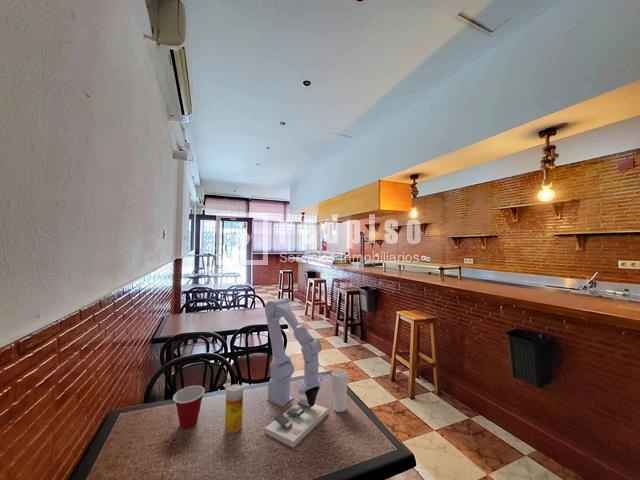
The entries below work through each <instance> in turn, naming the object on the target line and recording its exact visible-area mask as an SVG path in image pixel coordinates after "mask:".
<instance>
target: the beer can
mask: <svg viewBox="0 0 640 480" xmlns="http://www.w3.org/2000/svg"><path fill="white" fill-rule="evenodd" d="M243 388H244V387H243V386H242V385H241V384H239V383H235V384H231V385H229V386H227V389H226V391H225V410H224V411H225V415H224V417H225V418H224V430H225V431H226V432H227V433H228V434H235V433H237V432H240V431H241V428H242V427H243V412H244V411H243V408H244V407H243V406H244V405H243V404H244V402H243V401H244V389H243Z"/></svg>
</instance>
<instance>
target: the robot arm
mask: <svg viewBox="0 0 640 480" xmlns="http://www.w3.org/2000/svg"><path fill="white" fill-rule="evenodd" d="M264 311H265V316H266V322H267V327H268V333H269V338H270V343H271V345H270V346H271V349H272V350H271V351H272V355H273V359H272V361H271V362H270V364H269V367H270V368H269V369H270V370H269V376H270V378H269V381H268V384H267V397H266V400H267V401H269V402H271V403H274V404H276V405H279V406H281V407H284V406H285V405H287V403H289V402H290V401H292V400H293V399H295V398H294V396H292V395H291V394H290V393H291V379H292V375H293V374H294V373H295V367H294V364H293V362H292V360H291V357H290V356H288V355H287V354H286V350H285V349H286V348H285V345H284V339H283V334H282V329H281V324H280V320H281V317H282V318H283V319H284V320H285V321H286V323H287V324H288V325H289V326H290V327H291V329H292V331H293V332H292V333H293V334H292V335H293V336H294V337H295V339H296V341H297V342H298V343H299V345H300V346H301V348H300V349H301V350H300V351H301V354H302V357H303V360H304V368H303V369H304V373H303V374H304V378H303V379H304V381H303V383H302V385H300V387H299V388H298V394H300V395H302V396H303V395H304V396H305V398H306V400H307V401H308V404H309V405H311V406H314V404H316V399H317V396H318V393H319V391H320V389H321V387H320V386H321V385H322V384H321V382H322V381H323V378H324V377H323V375H321V374H319V353H320V352H321V350H322V344H321V342H320V341H319V339H318V338H315V337H313V336H312V335H311V333H310V332H309V331H308V329H307V327H306V326H305V325H301V324H300V323H299V321H298V319H297V317H296V316H295V314H294V313H293V311H292V309H291V304H290V302H289V300H288V299H287V298H285V297H283V298H280V299H279V298H278V299H274V300H273V299H272V300H268V301H266V304H265V306H264Z"/></svg>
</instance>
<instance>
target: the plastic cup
mask: <svg viewBox="0 0 640 480" xmlns="http://www.w3.org/2000/svg"><path fill="white" fill-rule="evenodd" d="M204 393H205V388H204V387H203V386H201V385H190V386H185V387H184V388H181V389H180V390H177V392H175V394H173V396H172V400H173V401H174V403H175V406H176V411H177V416H178V421H179V422H178V423H179V428H180V429H182V430H189V429H192V428H193V427H195V426H196V425H197V424H198V419H199V415H200V411H201V406H202V400H203V396H204Z"/></svg>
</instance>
